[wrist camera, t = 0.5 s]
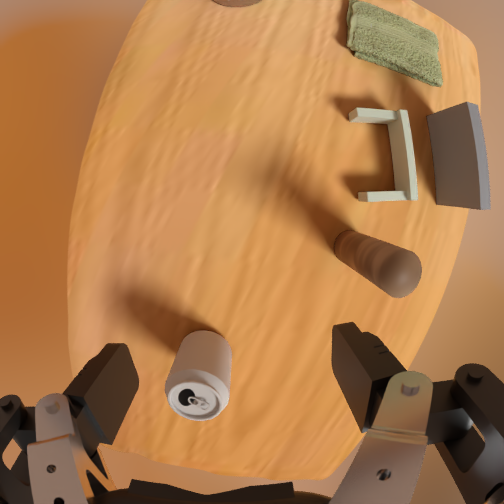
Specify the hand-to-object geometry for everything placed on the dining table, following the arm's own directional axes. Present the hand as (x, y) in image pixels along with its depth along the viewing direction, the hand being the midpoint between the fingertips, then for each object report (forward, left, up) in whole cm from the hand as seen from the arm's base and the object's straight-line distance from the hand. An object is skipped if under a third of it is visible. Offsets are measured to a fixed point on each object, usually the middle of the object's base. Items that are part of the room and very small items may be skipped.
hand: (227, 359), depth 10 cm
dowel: (+2, +15, -26) cm, 30 cm away
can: (+15, -6, -26) cm, 31 cm away
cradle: (-10, +20, -26) cm, 34 cm away
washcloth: (-30, +28, -27) cm, 49 cm away
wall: (-10, +31, -26) cm, 42 cm away
